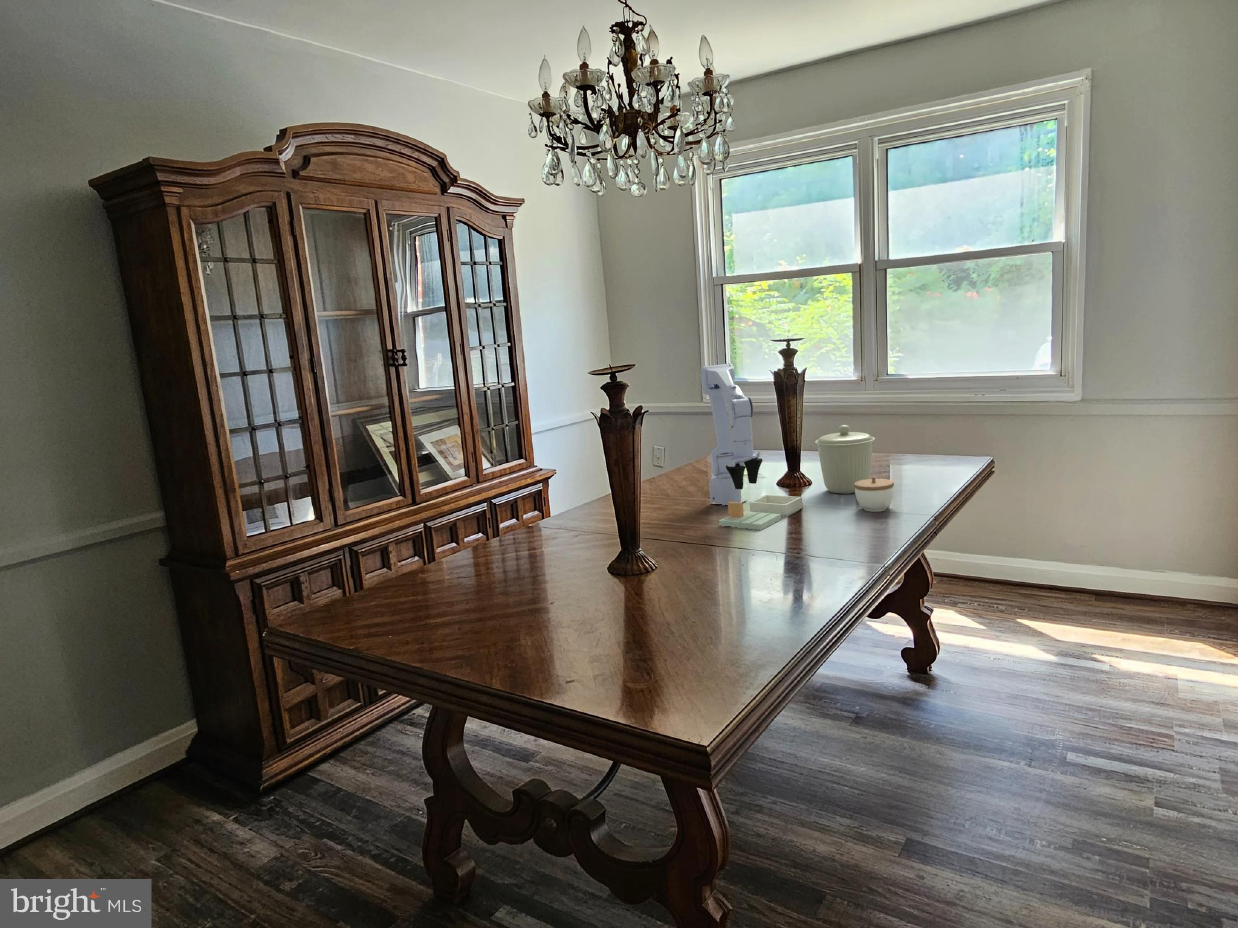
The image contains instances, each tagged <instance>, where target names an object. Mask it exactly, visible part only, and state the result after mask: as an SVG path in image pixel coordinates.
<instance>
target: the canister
mask: <svg viewBox="0 0 1238 928" xmlns="http://www.w3.org/2000/svg"><path fill="white" fill-rule="evenodd" d="M850 428H851V427H850V426H849V425H847V424H842V425H840V426H838V429H837V431H838V432H836V433H835V432H834V433H833V432H832V433H829V434H825V435H822V436H820V437H819V438H818V439H816V440H815V441H814V443H815V445H817V449H818V450H817V452H818V456H819V463H820V469H821V472H822V479H823V483H824V486H825V488H826V490H827V491H829V492H830V493H834V494H841V495H843V494H845V495H847V494H855V487H854V483H855V482H857V481H860V480H866V479H871V475H872V474H871V472H872V461H873V459H872V457H873V445H874V444H873V443H874V441H875V440H876V438H875V437H874V436H871V435H870V434H869V433H866V432H857V431H851V429H850Z"/></svg>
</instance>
